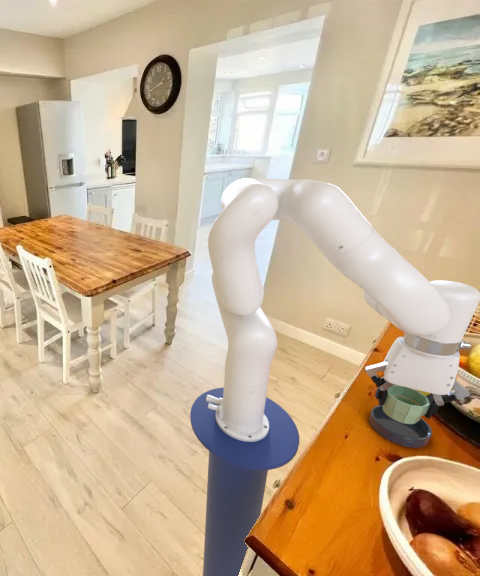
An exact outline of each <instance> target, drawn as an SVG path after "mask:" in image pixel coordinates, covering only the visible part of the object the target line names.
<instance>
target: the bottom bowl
mask: <svg viewBox="0 0 480 576" xmlns="http://www.w3.org/2000/svg"><path fill="white" fill-rule="evenodd" d="M368 421H369V424H370V426H371V428H372V429H373V430H374V431H375V432H376V433H377V434H378V435H380V436H381V437H383V438H385V439H386V440H388V441H390V442H392V443H394V444H397V445H398V446H399V445H400V446H403V447H406V448H414V449H418V448H419V449H420V448H424V447H425V446H427V445H428V444H429V441H430V440H431V438H432V435H433V431H432V427H431V426H430V425H429V424H428V422H427V421H426V420H425V419H423V418H422V417H421V418H420V420H419V421H417V423H415V424H405V423H401V422H398V421H396V420H394V419H392V418H390V417H389V416H388V415H387V414H386V413H385V412H384V411H383V405H379V404H378V405H375V406H373V407H372V409H371V410H370V413H369V417H368Z"/></svg>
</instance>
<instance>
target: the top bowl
mask: <svg viewBox="0 0 480 576" xmlns="http://www.w3.org/2000/svg"><path fill="white" fill-rule="evenodd" d="M387 390H388V395H387V398H386V400H385V403H384V405H383V411H384V412H385V413H386V414H387V415H388V416H389V417H390V418H392V419H394V420H396V421H398V422H401V423H405V424H415V423H417V421H419V420H420V418H422V417H423V416H425V414H426V413H427V411H428V408H429V406H430V402H429V399H428V396H425V395H423V394H422V393H421V392H419V391H417V390H415V389H412V388H408V387H404V386H400V385H396V384H395V385H393V386H392V387H390V388H388V389H387Z"/></svg>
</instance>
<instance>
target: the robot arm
mask: <svg viewBox="0 0 480 576" xmlns="http://www.w3.org/2000/svg"><path fill="white" fill-rule="evenodd" d="M220 206H221V209H222V211H220V213H219V214H218V216H217V217H216V219H215V220H214V222H213V223H212V225H211V228H210V231H209V234H208V239H207V248H208V254H209V259H210V263H211V269H212V275H211V283H212V288H213V292H214V295H215V299H216V303H217V306H218V310H219V314H220V317H221V321H222V323H223V327H224V330H225V334H226V337H227V352H226V356H225V362H224V377H223V378H224V379H223V388H224V391H223V398H219V399H218V398H215V397H213V396H210V395H207V397H206V402H209V405H208V408H209V409H212V410H216V422H217V424H218V426H219V427H220V428H221V429H222V430H223V431H224V432H225V433H226V434H227V435H229V436H231V437H233V438H235V439H237V440H241V441H246V442H255V441H259V440H261V439H263V438H264V437H266V435H267V434H268V431H269V422H268V419H267V417H266V416H265V414H264V409H265V402H266V397H267V393H268V387H269V380H270V379H269V378H270V372H271V366H272V362H273V359H274V357H275V355H276V352H277V348H278V338H277V334H276V330H275V329H274V327H273V325H272V323H271V322H270V320H269V318H268V316H267V315H266V314H265V312H264V311H263V309H262V304H263V301H264V296H265V291H264V286H263V283H262V278H261V275H260V272H259V267H258V263H257V256H256V250H255V249H256V248H255V247H256V245H255V244H256V240H257V238H258V236H259V235H260V233H262V231H263V230H264V229H265V228H266V227H267V226H268V225H269V224H270V223H271V222H272V221H273V220H276V221H290V222H291V223H294V224H295V225H296V226H297V227H298V228H299V230H300V231H302V232H303V234H304V235H305V236H306V237H307V238H308V239H309V240H310V241H311V242H312V244H313V245H314V246H315V248H317V249H318V251H320V253H321V254H322V255H323V256H324V257H325V259H326V260H327V261H328V262H329V263H330V264H331V266H333V267H334V268H335V269H336V270H337V271H338V272H339V273H340V274H341V275H343V276H344V277H346V278H347V279H348V280H349V281H351V282H352V283H354V284H355V285H357V286H358V287H359V288H360V289H362V290H363V299H364V301H365V303H366V304H367V305H368V306H369V307H370V308H371V309H372V310H374V311H375V312H376V313H378V314H379V315H380V316H382V317H383V318H385V319H386V320H387V321H388V322H389V323H391V324H392V325H394V326H395V327H396V328H397V329H399V330H400V331H402V332H403V333H404V334H403V336H398V337H397V338H396V339H395V340H394V342H393V343H392V344H391V347H389V350H388V352H386V355H385V357H384V360H383V361H382V362H379V363H374V364H371V365H368V366H365V367H364V371H365V373H366V374H367V376H368V377H369V378H370V379H371V381H372V382H373V383H374V384H375V385H376V387H377V388H376V391H375V394H374V398H375V400H378V405H384V403H385V400H386V398H387V395H388V390H387V389H388V388H390V387H392V386H393V385H400V386H404V387H408V388H412V389H416V390H420V391H424V392H428V393H431V394H429V395H427V397H428V399H429V402H430V406H429V408H428V411H427V413H426V414H425V415H424V418H426V419H429V420H430V419H432V416H433V415H436V414H437V412H438V411H439V408H440V407H441V406H444V405H445V404H446V403H452V402H456V401H458V400H461V399H464V398H468V397H470V396H471V394H470V392H469V390H468V389H467V388H466V387H465V386H464V385H462V384H461V382H459V381H458V380H457V379H456V378H457V374H458V370H459V366H460V359H461V354H460V350H461V349H462V350H463V349H465V350H470V349H471V347H472V343H471V342H470V341H466V340H463V338H464V336H465V334H466V332H467V329H468V328H469V325H470V323H471V322H472V319H473V316H474V314H475V313H476V311H477V308H478V306H479V304H480V290H479V289H477V288H476V287H474V286H472V285H469V284H467V283H463V282H458V281H454V280H432V281H429V280H428V279H427V278H426V277H425V276H424V275H423V274H422V272H420V271H419V270H418V269H417V268H416V267H415V266H414V265H412V263H410V262H409V261H408V260H407V259H406V258H404V256H403V255H402V254H400V252H398V250H396V249H395V248H394V247H393V246H392V245H391V244H390V243H389V242H388V241H386V240H385V239H384V238H383V237H382V236H381V235H380V233H379V232H378V231H377V230H376V229H375V227H373V225H372V224H371V223H370V222H369V220H367V218H366V217H365V216H364V215H363V214H362V212H361V211H360V210H359V208H358V207H357V206H356V205H355V204H354V203H353V201H352V200H351V199H350V198H349V196H348V195H347V194H346V193H345V192H344V191H343V190H342V189H341V188H340V187H338V186H337V185H334V184H333V183H330V182H326V181H319V180H314V179H309V178H308V179H307V178H304V179H303V178H300V179H299V178H298V179H295V178H293V179H292V178H291V179H290V178H288V179H283V178H282V179H281V178H280V179H279V178H241V179H237V180H235V181H233V182H231V183H230V184H229V185H227V187H226V188H225V189H224V190H223V192H222V195H221V198H220ZM379 372H383V376H382V377H380V375H379V374H377V373H379ZM452 389H453V390H452ZM210 403H212V404H210ZM213 404H216V405H218V406H215V405H213Z"/></svg>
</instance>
